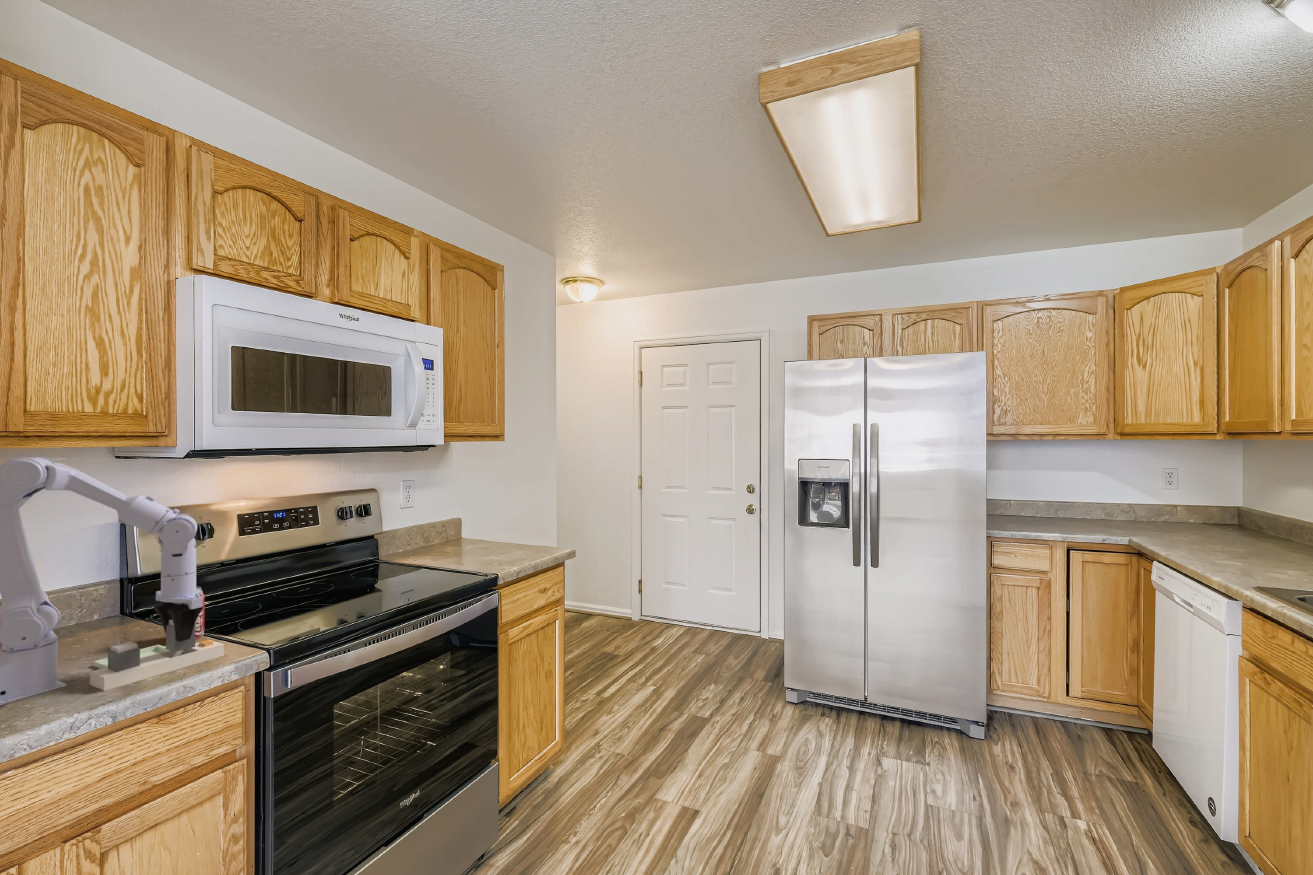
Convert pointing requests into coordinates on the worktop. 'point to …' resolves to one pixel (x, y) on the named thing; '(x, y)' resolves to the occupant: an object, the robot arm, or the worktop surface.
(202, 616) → the soda can
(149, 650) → the tray
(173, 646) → the plug
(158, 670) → the power strip
